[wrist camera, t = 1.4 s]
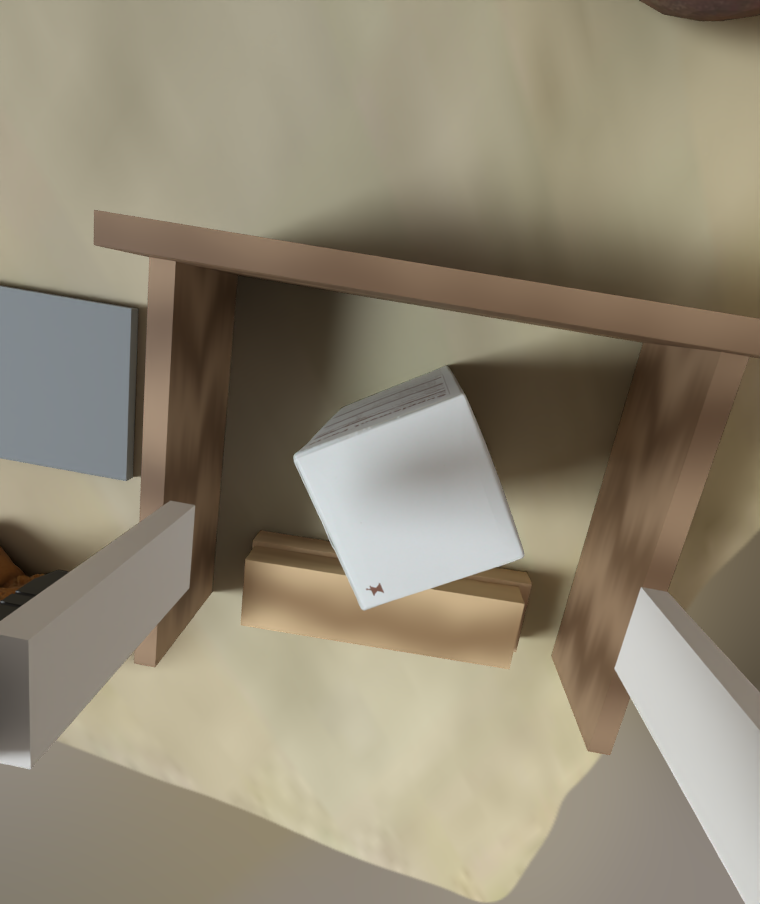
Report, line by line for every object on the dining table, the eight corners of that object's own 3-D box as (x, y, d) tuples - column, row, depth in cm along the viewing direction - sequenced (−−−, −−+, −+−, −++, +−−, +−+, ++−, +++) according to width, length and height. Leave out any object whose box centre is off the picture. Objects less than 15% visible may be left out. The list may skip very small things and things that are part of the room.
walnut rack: (219, 250, 30) (94, 209, 19) (670, 325, 29) (833, 330, 18) (195, 589, 36) (89, 717, 25) (568, 659, 35) (640, 826, 24)
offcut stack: (261, 528, 35) (242, 554, 31) (525, 569, 34) (539, 601, 30) (256, 593, 36) (237, 626, 32) (510, 634, 36) (521, 672, 32)
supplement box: (489, 471, 32) (531, 565, 20) (380, 508, 34) (357, 618, 21) (450, 360, 31) (469, 389, 19) (337, 403, 32) (285, 458, 20)
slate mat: (-34, 279, 32) (-45, 278, 31) (138, 308, 31) (131, 308, 31) (-25, 448, 35) (-35, 451, 34) (132, 477, 34) (126, 480, 33)
